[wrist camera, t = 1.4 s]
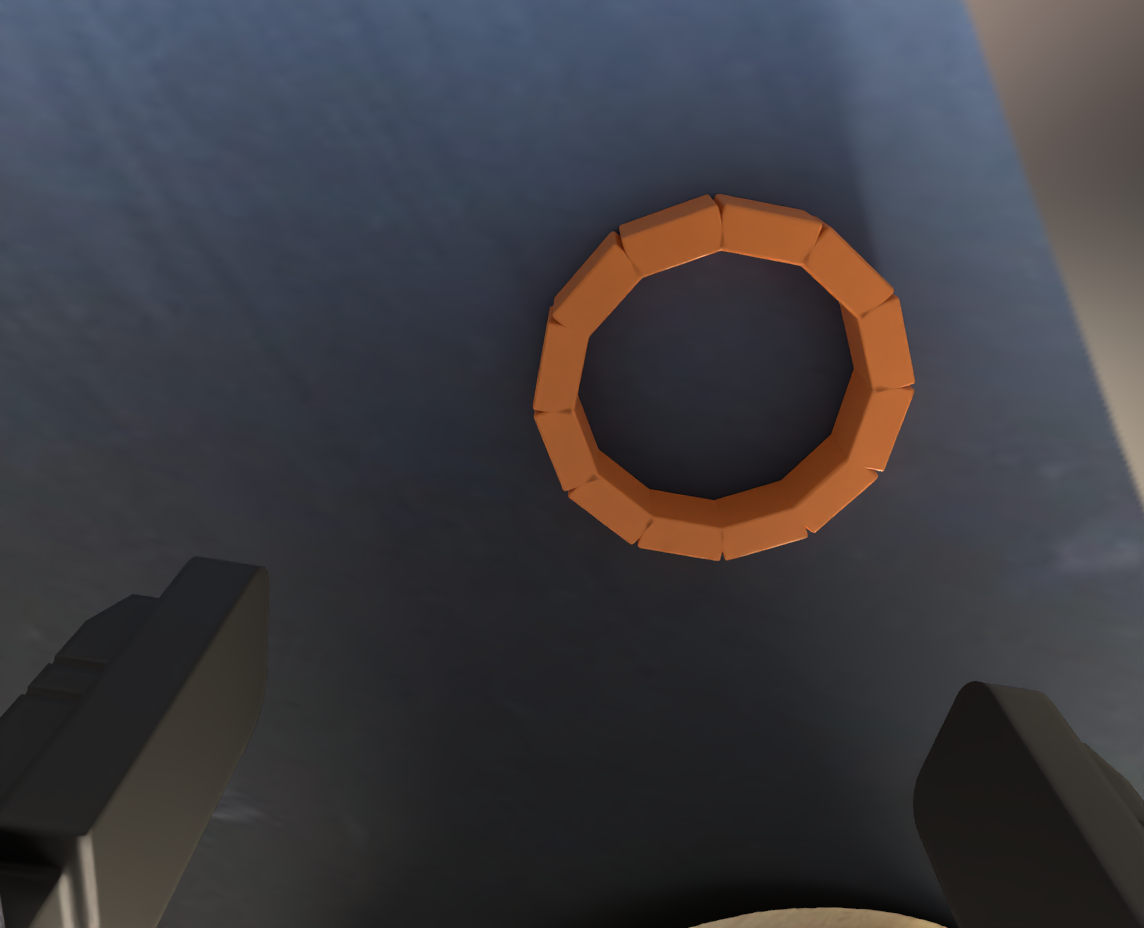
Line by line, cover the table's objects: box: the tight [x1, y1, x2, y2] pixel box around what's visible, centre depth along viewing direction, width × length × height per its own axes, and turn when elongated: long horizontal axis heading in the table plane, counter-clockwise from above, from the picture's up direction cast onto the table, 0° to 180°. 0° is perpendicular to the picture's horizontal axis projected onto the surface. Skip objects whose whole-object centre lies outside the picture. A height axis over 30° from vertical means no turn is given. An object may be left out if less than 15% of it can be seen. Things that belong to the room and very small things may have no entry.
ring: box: [533, 194, 915, 561], centre depth 21 cm, size 9×9×2 cm
